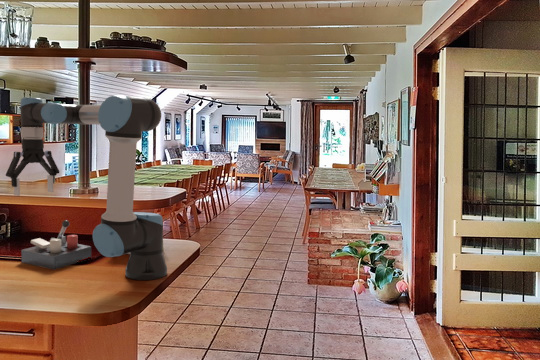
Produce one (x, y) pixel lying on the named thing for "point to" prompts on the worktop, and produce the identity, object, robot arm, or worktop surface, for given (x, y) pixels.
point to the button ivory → (55, 246)
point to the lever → (63, 229)
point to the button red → (72, 241)
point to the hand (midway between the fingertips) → (34, 193)
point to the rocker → (40, 243)
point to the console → (55, 255)
